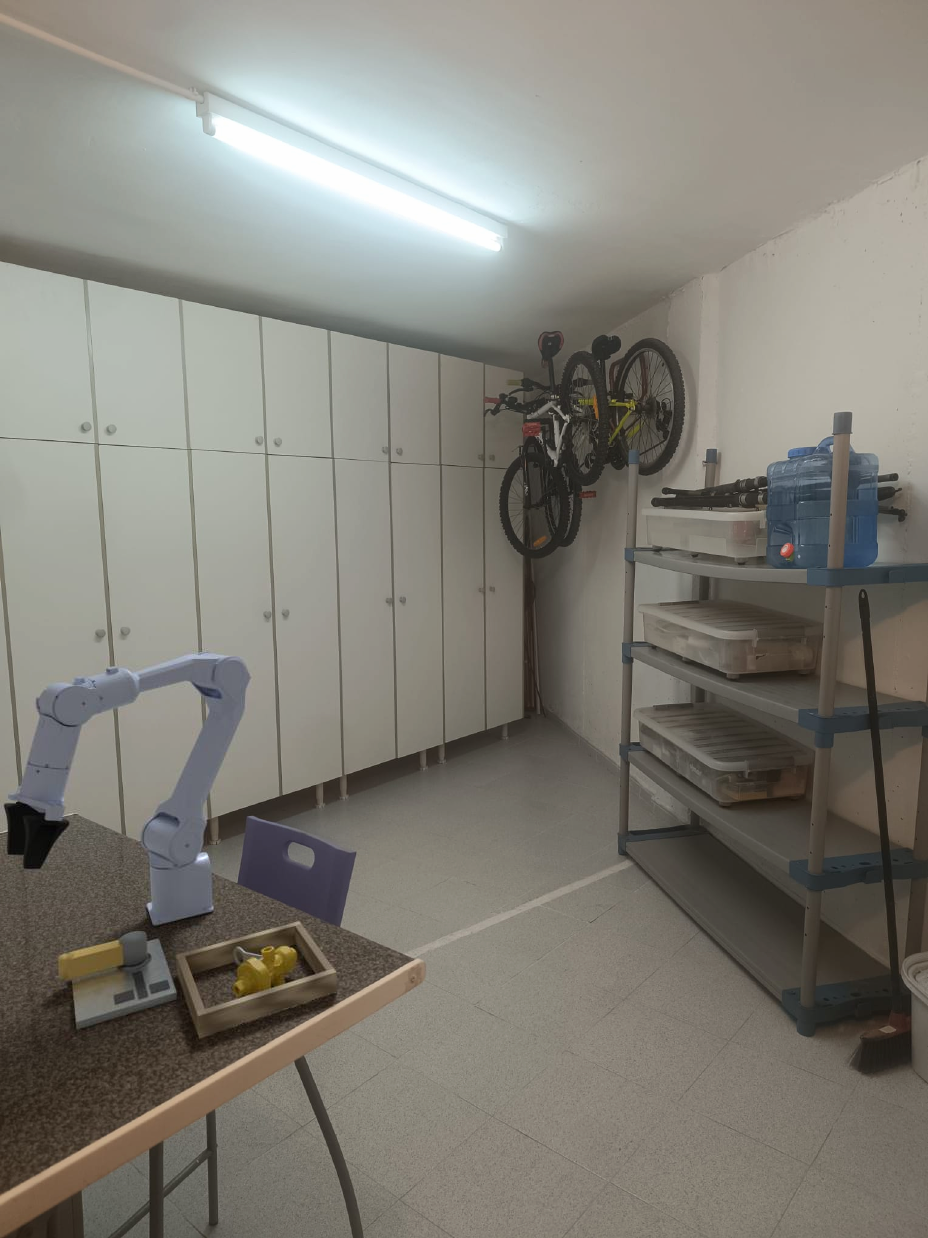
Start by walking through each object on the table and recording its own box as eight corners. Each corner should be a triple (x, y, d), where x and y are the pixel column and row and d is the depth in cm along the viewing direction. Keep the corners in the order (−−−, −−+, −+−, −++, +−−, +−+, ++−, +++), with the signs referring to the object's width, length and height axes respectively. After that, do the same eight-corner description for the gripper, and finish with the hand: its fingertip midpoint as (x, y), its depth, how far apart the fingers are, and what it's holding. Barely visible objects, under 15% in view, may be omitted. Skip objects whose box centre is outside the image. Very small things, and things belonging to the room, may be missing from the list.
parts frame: (299, 939, 114) (299, 921, 113) (336, 993, 100) (336, 972, 100) (177, 975, 104) (176, 955, 104) (199, 1039, 91) (198, 1016, 90)
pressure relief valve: (308, 975, 103) (252, 1014, 95) (252, 964, 110) (195, 999, 102) (302, 937, 103) (245, 973, 95) (246, 928, 110) (189, 960, 102)
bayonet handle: (145, 949, 109) (144, 928, 108) (149, 961, 105) (148, 939, 105) (59, 972, 103) (57, 950, 103) (59, 985, 100) (58, 963, 99)
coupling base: (159, 944, 113) (158, 937, 112) (176, 999, 99) (176, 991, 99) (64, 969, 106) (63, 962, 106) (69, 1032, 92) (68, 1023, 92)
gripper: (4, 754, 108) (-22, 848, 106) (35, 771, 98) (7, 875, 96) (54, 759, 113) (30, 849, 111) (89, 776, 103) (63, 874, 101)
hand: (23, 861), depth 104 cm, fingers open, 7 cm apart
